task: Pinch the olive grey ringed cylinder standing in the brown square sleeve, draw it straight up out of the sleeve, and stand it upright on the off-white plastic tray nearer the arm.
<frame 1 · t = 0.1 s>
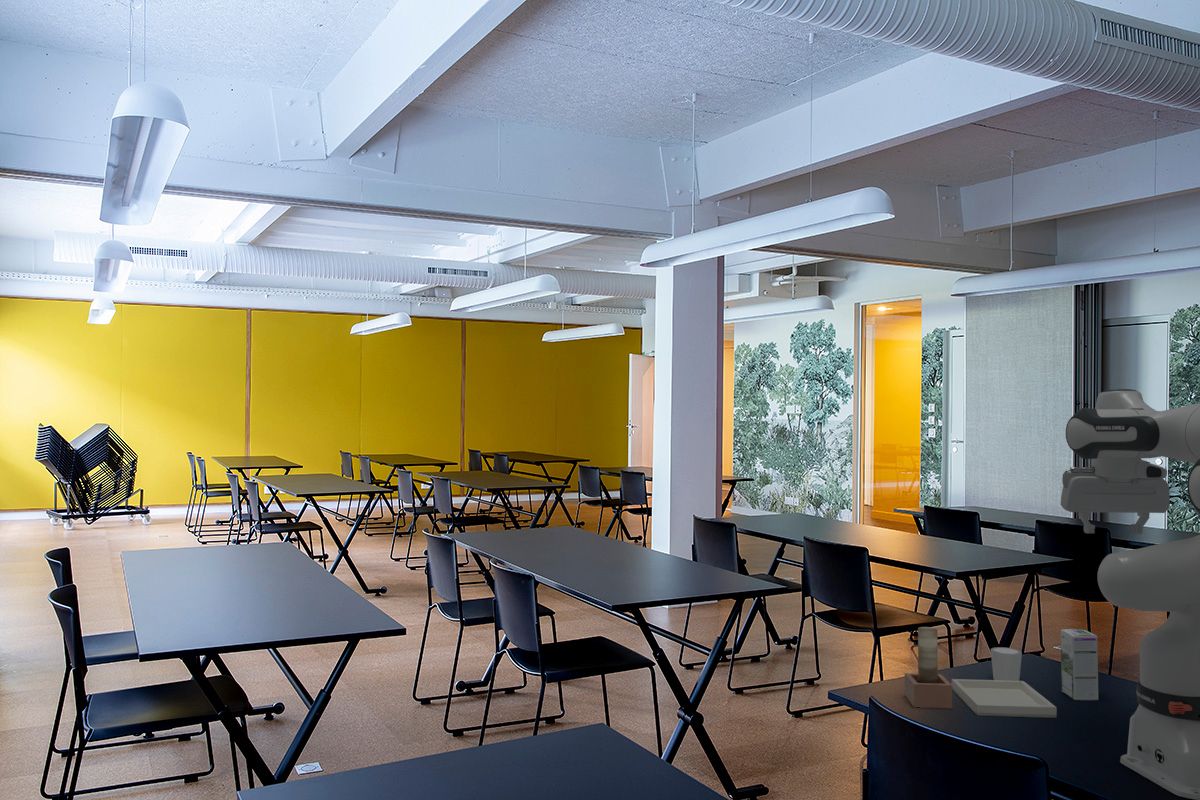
hand: (1112, 533, 185), 39 cm above the table, tool pointing down, fingers open, 8 cm apart
grey cup: (1006, 680, 213), on the table
olive grey ringed cylinder: (927, 665, 197), in the brown square sleeve
syrup box: (1079, 697, 201), on the table
brown square sleeve: (927, 701, 197), on the table
tray: (1001, 702, 196), on the table
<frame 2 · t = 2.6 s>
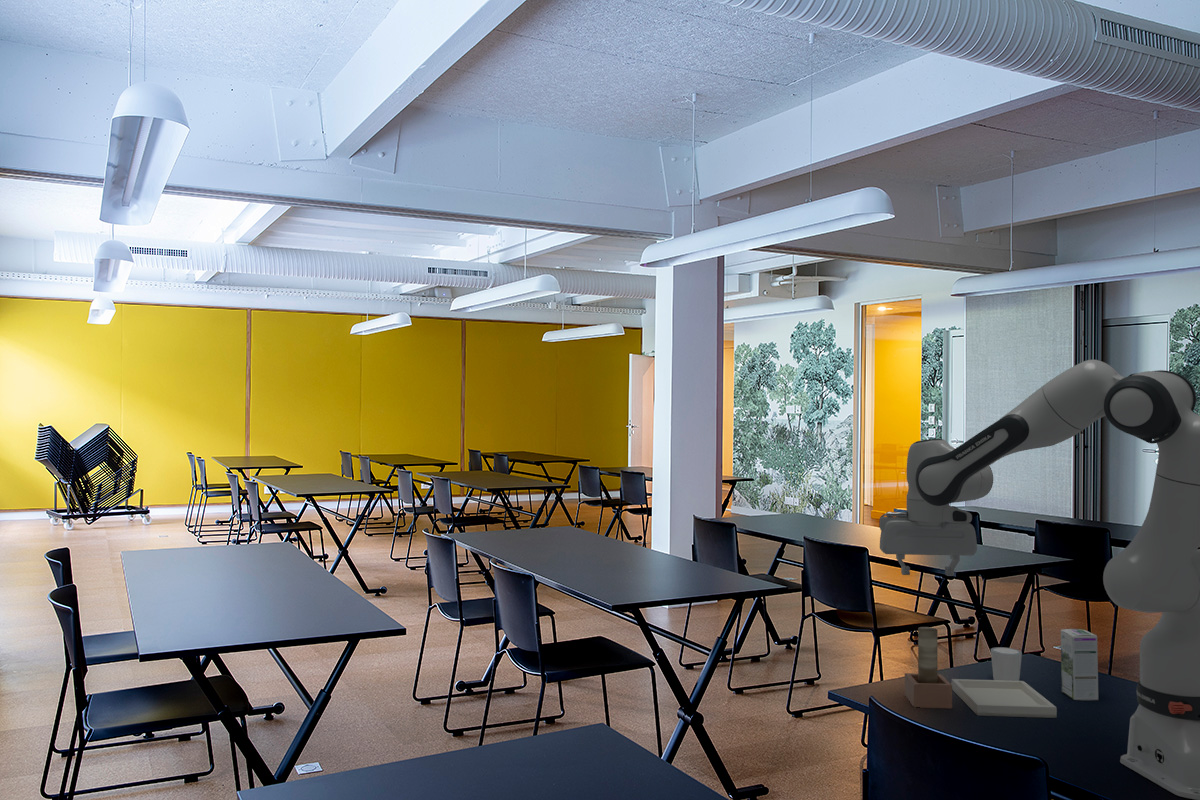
hand: (927, 575, 197), 28 cm above the table, tool pointing down, fingers open, 8 cm apart
nothing on the table moved.
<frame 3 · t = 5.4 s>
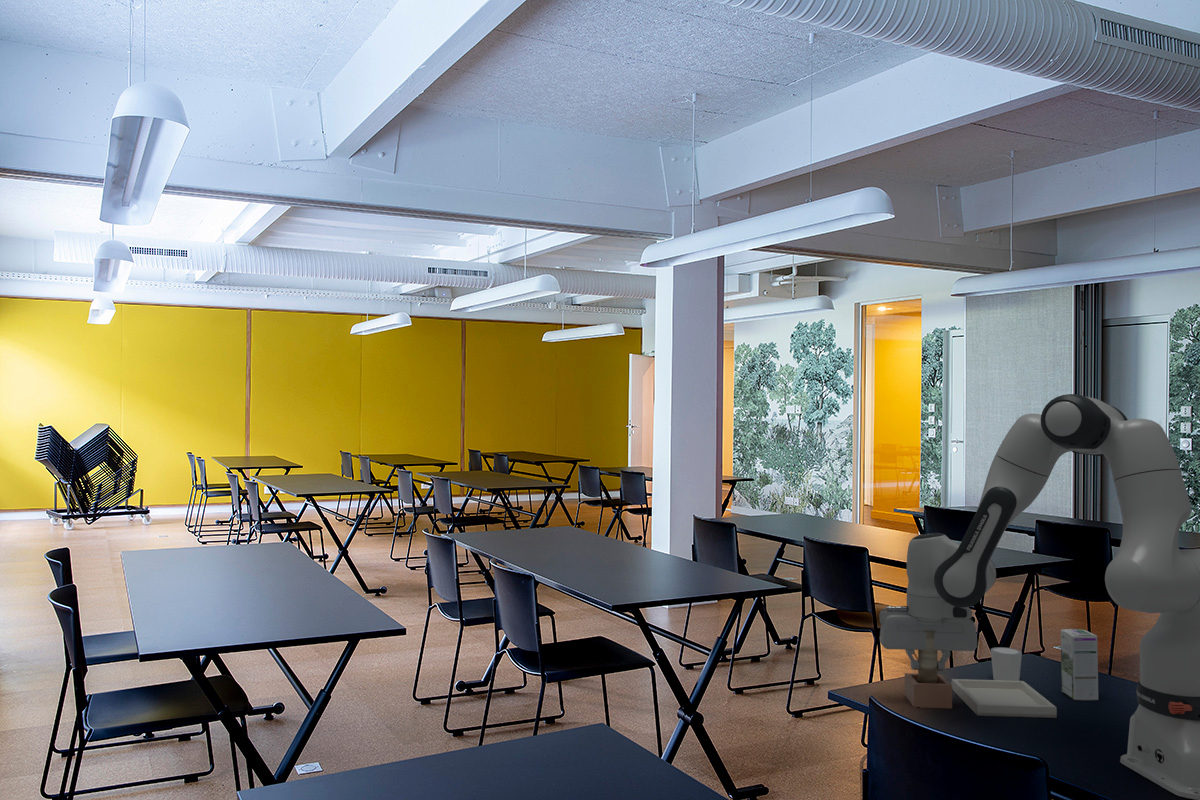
hand: (927, 669, 197), 7 cm above the table, tool pointing down, fingers closed on olive grey ringed cylinder, 4 cm apart
olive grey ringed cylinder: (927, 665, 197), in the brown square sleeve, touching gripper
everything else where it was.
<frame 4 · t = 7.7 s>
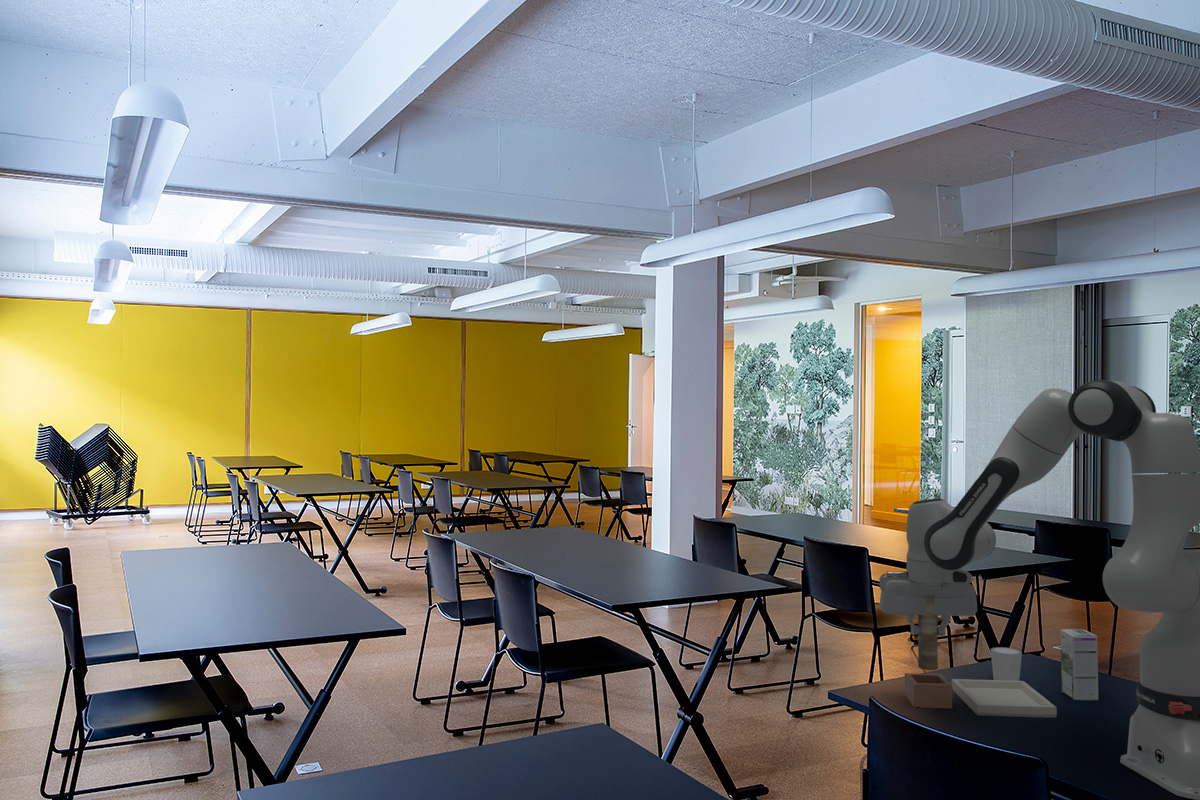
hand: (927, 634, 197), 15 cm above the table, tool pointing down, fingers closed on olive grey ringed cylinder, 4 cm apart
olive grey ringed cylinder: (927, 630, 197), point 16 cm above the table, touching gripper
everything else where it was.
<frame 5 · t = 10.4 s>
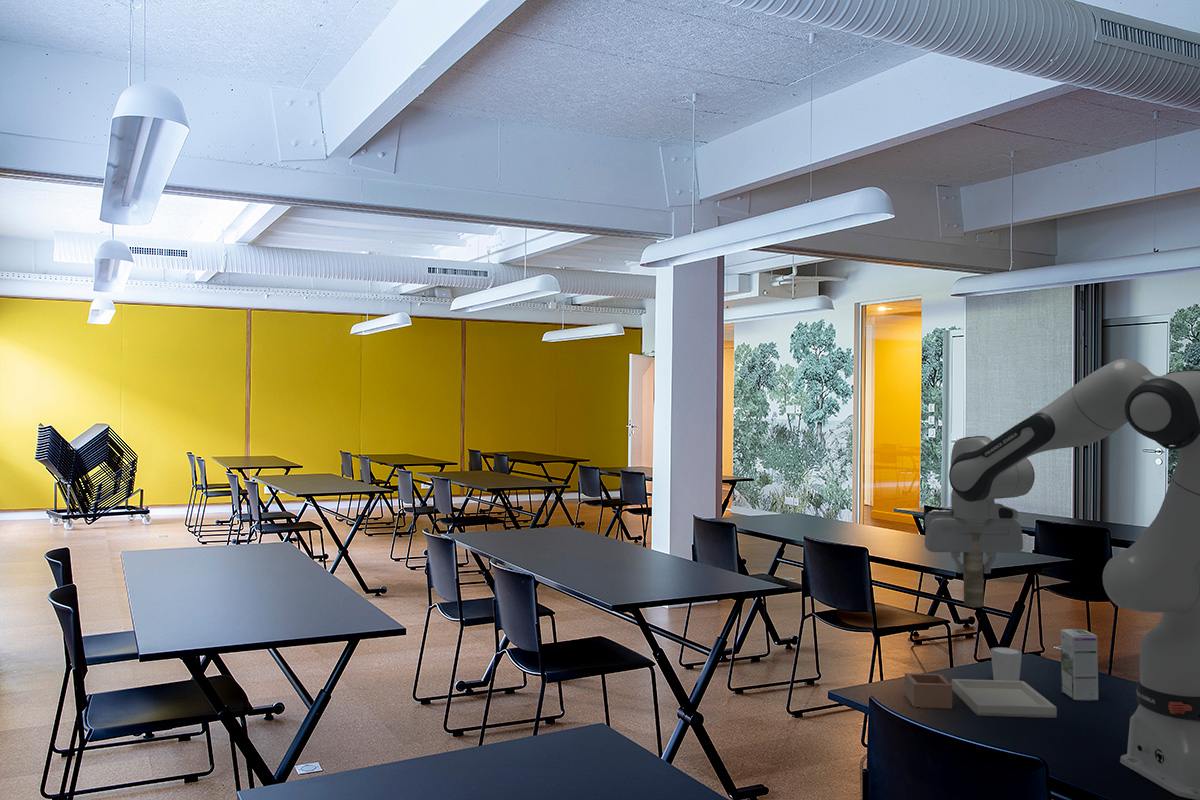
hand: (973, 572, 196), 28 cm above the table, tool pointing down, fingers closed on olive grey ringed cylinder, 4 cm apart
olive grey ringed cylinder: (973, 568, 196), point 29 cm above the table, touching gripper
everything else where it was.
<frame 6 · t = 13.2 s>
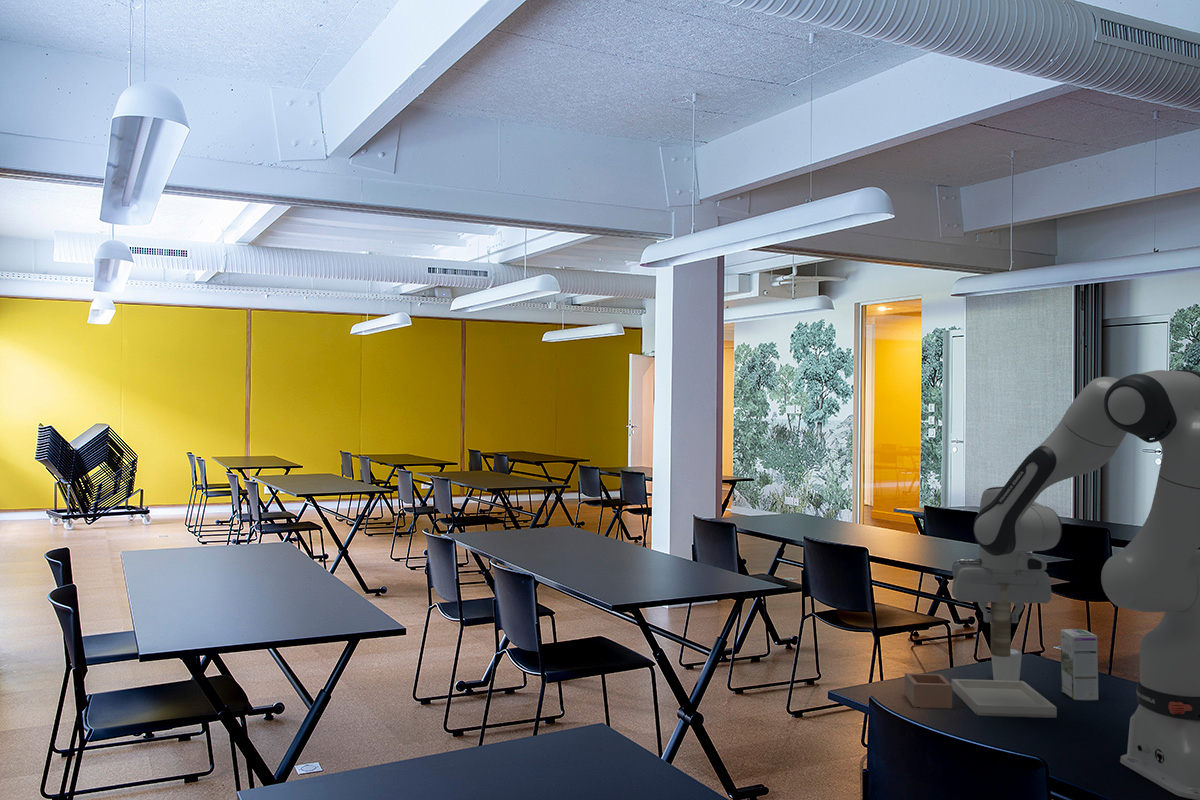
hand: (1000, 622, 196), 18 cm above the table, tool pointing down, fingers closed on olive grey ringed cylinder, 4 cm apart
olive grey ringed cylinder: (1000, 618, 197), point 18 cm above the table, touching gripper
everything else where it was.
when the fingers open (9 cm above the table, at t = 15.6 s): olive grey ringed cylinder drops 1 cm, resting on tray.
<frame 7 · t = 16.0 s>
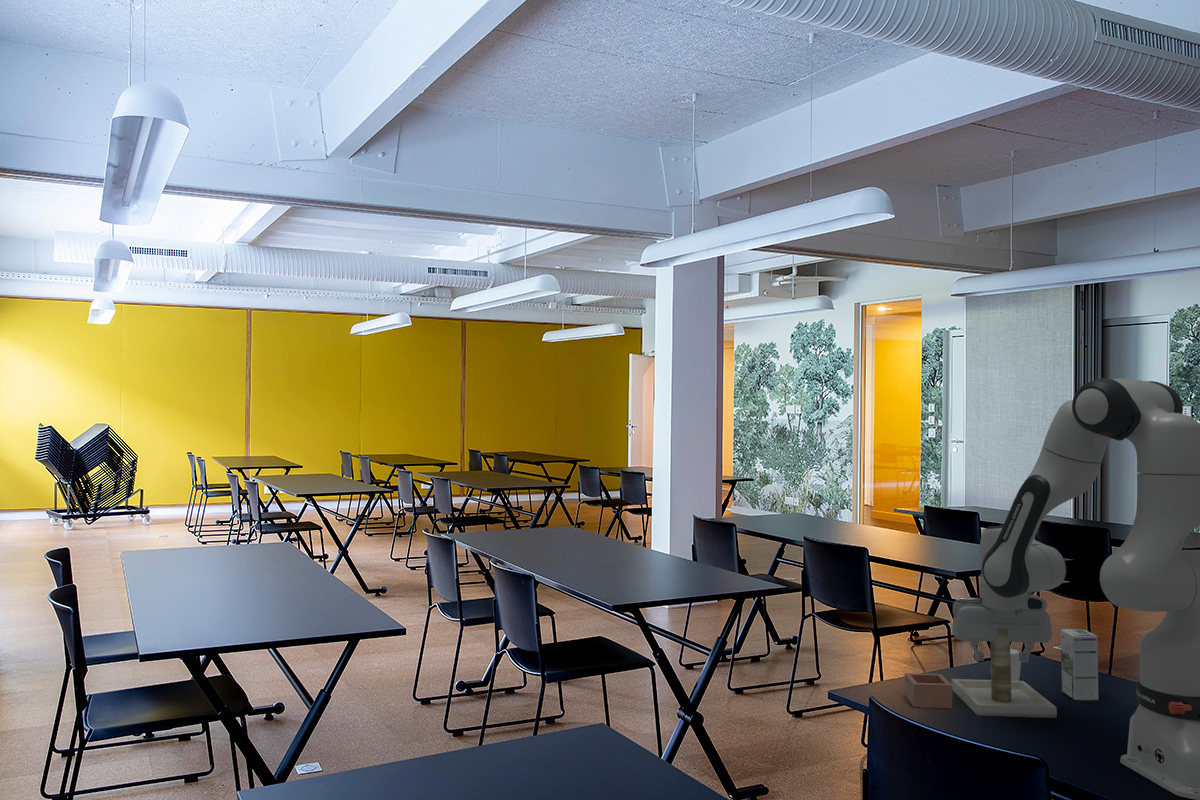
hand: (1001, 661, 196), 9 cm above the table, tool pointing down, fingers open, 8 cm apart
olive grey ringed cylinder: (1000, 663, 196), in the tray, point 9 cm above the table
everything else where it was.
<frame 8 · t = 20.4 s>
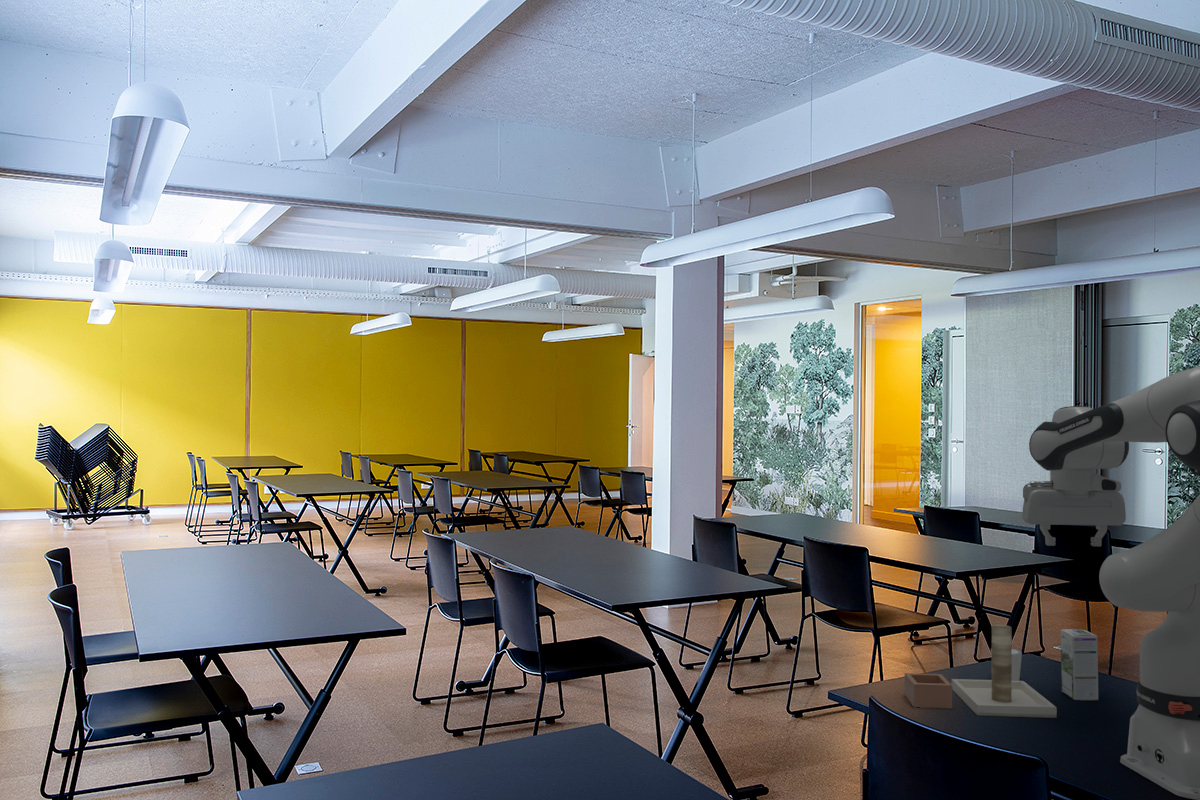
hand: (1073, 545, 192), 35 cm above the table, tool pointing down, fingers open, 8 cm apart
nothing on the table moved.
at the end: olive grey ringed cylinder inside the target area on the tray (0.0 cm from its centre), point 8.6 cm above the tray's base; olive grey ringed cylinder tilted 0°; the gripper is holding nothing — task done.
